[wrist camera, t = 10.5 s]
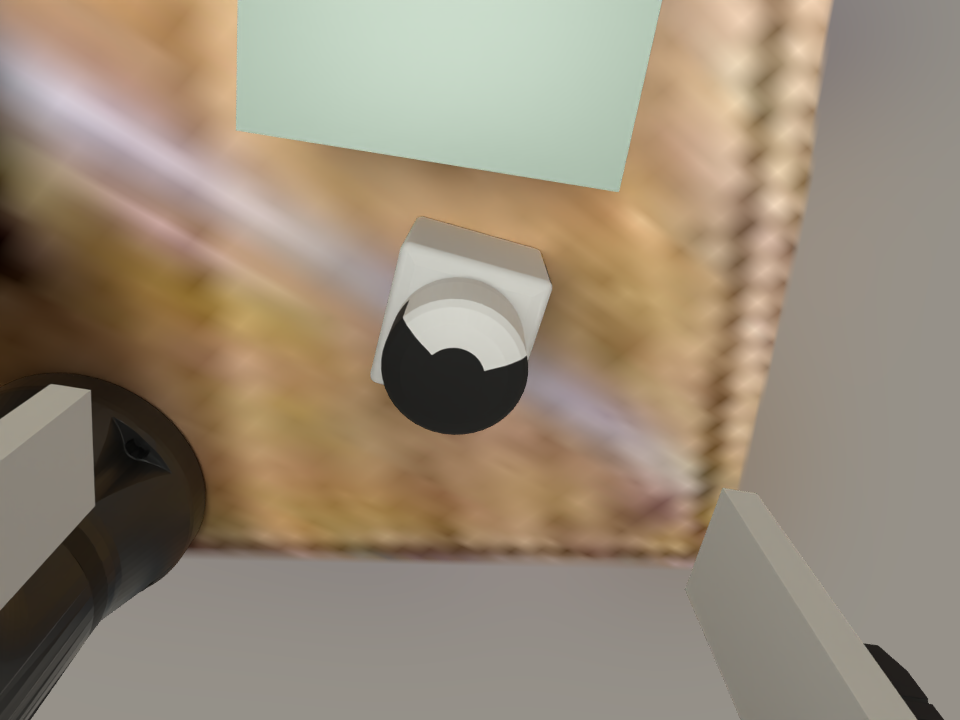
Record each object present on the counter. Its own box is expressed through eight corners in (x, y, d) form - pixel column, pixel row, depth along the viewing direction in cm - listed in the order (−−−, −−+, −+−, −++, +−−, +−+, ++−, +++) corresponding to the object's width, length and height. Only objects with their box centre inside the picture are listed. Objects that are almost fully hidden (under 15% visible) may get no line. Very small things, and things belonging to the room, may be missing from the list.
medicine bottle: (505, 364, 39) (513, 472, 28) (387, 332, 39) (347, 430, 28) (542, 249, 37) (567, 318, 26) (417, 213, 36) (386, 268, 25)
